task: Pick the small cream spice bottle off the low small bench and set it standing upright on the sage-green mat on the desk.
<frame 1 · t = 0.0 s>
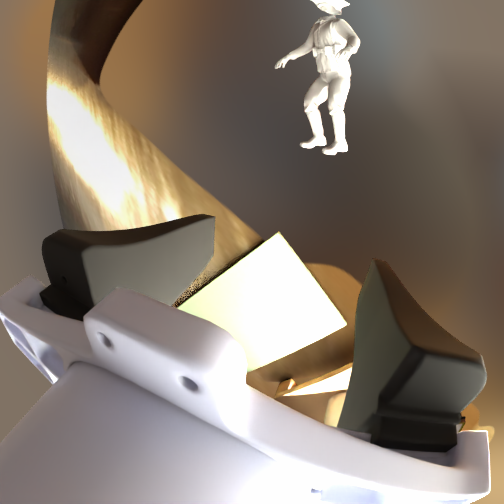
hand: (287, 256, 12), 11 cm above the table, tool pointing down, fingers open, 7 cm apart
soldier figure: (329, 79, 18), on the table
mat: (254, 316, 26), on the table
spice bottle: (345, 404, 23), point 2 cm above the table, touching small bench
small bench: (347, 387, 26), on the table
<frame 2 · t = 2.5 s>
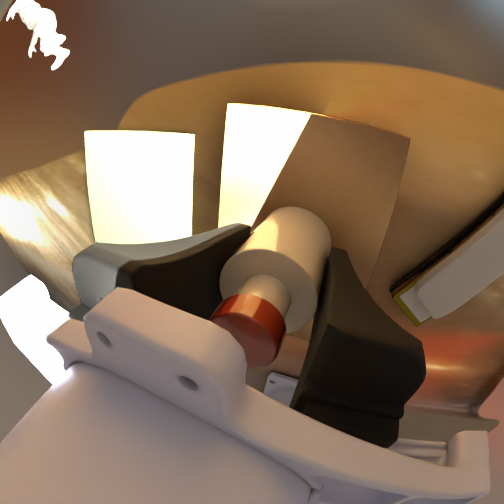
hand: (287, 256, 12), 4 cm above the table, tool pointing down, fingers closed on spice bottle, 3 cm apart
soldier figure: (55, 25, 14), on the table
mat: (135, 224, 20), on the table
spice bottle: (294, 242, 13), point 3 cm above the table, touching gripper, small bench
harmonica: (492, 226, 11), on the table
small bench: (304, 223, 15), on the table
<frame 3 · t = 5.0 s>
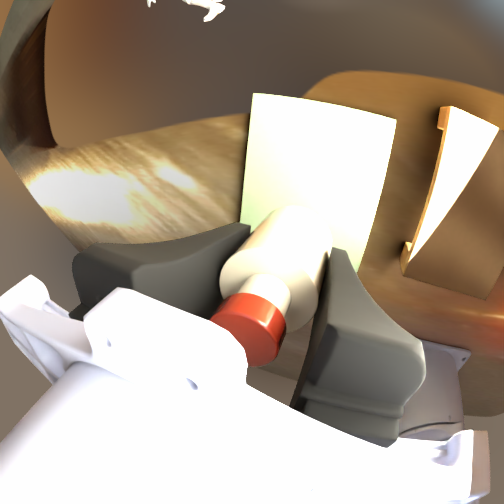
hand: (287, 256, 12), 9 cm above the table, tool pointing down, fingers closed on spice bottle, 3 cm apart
mat: (309, 196, 20), on the table
spice bottle: (294, 241, 13), point 8 cm above the table, touching gripper
small bench: (467, 203, 16), on the table
when the fingers open (2 cm above the table, at t = 7.5 s): spice bottle stays where it is, resting on mat.
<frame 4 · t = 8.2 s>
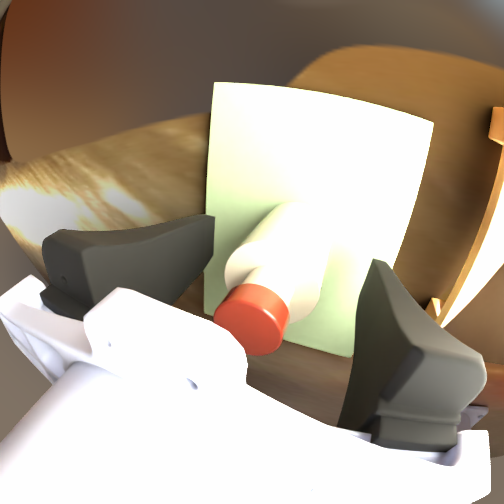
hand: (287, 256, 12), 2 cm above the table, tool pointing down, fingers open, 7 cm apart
mat: (298, 235, 14), on the table
spice bottle: (295, 237, 14), resting on mat
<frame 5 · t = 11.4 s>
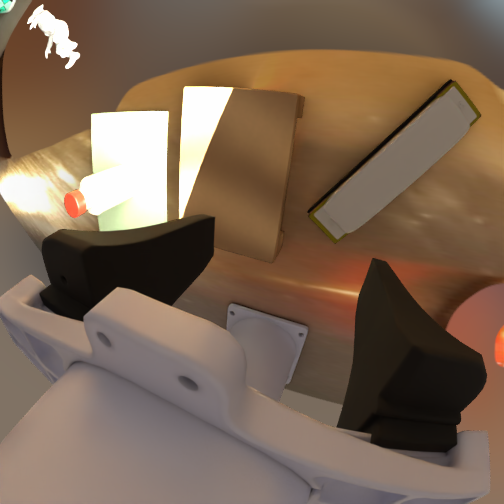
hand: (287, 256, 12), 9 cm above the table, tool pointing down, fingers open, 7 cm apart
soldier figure: (67, 33, 20), on the table
spray can: (13, 0, 18), on the table
mat: (127, 181, 25), on the table
spice bottle: (123, 182, 25), resting on mat
harmonica: (394, 159, 17), on the table
small bench: (242, 167, 21), on the table
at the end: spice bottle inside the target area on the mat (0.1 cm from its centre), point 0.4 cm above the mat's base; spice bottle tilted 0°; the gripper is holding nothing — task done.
